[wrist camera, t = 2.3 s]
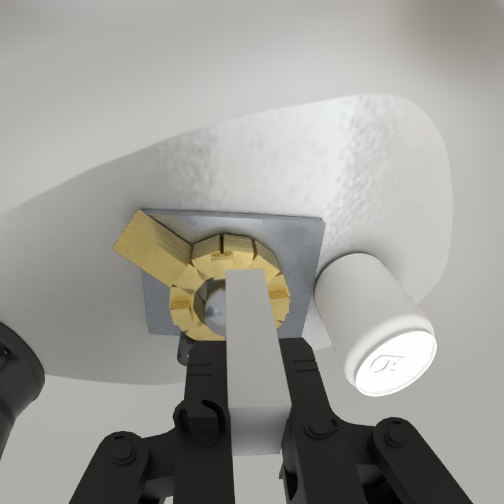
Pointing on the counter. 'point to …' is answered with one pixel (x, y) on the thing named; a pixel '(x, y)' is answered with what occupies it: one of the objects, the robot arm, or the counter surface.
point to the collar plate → (258, 227)
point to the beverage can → (373, 325)
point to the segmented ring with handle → (198, 269)
